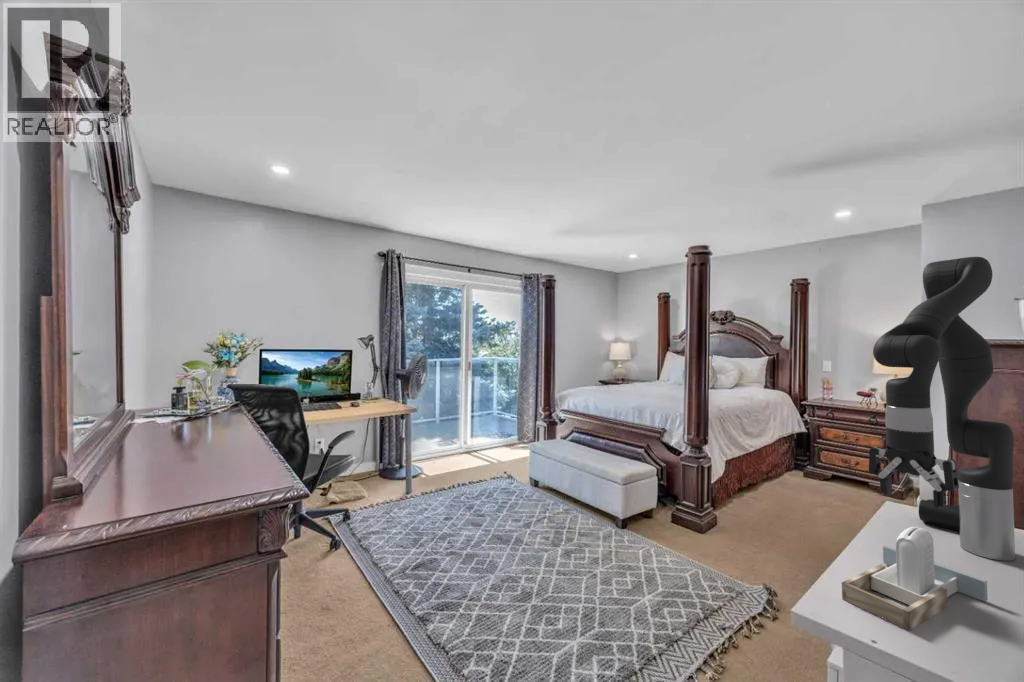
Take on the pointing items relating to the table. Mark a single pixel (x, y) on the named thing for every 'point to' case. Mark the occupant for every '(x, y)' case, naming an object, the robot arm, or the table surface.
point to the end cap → (939, 515)
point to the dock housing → (904, 617)
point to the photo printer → (915, 560)
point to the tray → (943, 578)
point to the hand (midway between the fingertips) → (911, 501)
